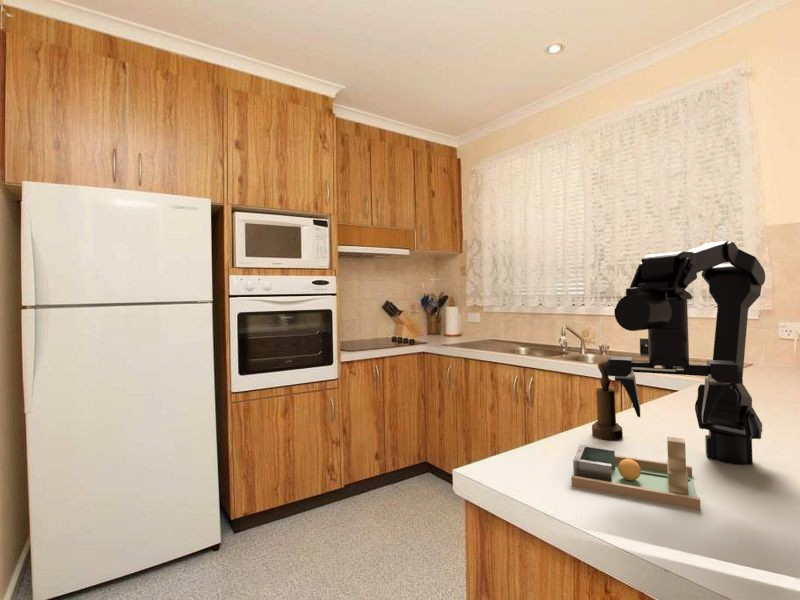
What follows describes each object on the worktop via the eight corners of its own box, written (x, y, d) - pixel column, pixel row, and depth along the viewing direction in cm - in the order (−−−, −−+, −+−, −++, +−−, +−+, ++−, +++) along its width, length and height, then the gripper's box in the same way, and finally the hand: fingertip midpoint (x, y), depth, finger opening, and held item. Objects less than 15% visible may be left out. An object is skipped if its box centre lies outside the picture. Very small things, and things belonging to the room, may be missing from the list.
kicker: (685, 480, 71) (683, 435, 71) (688, 495, 66) (686, 446, 66) (667, 477, 73) (666, 433, 73) (669, 491, 68) (667, 444, 68)
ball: (641, 477, 74) (640, 457, 74) (641, 485, 71) (640, 464, 71) (618, 473, 75) (618, 454, 75) (617, 481, 72) (617, 461, 72)
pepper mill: (586, 432, 102) (584, 358, 102) (611, 431, 102) (609, 357, 102) (602, 441, 95) (599, 362, 95) (629, 439, 96) (626, 361, 96)
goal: (615, 467, 78) (614, 449, 78) (611, 486, 70) (611, 466, 70) (580, 462, 81) (580, 444, 81) (573, 480, 73) (573, 460, 73)
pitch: (691, 480, 74) (691, 466, 74) (700, 516, 62) (700, 499, 62) (582, 462, 83) (582, 450, 83) (571, 491, 71) (571, 477, 71)
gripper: (729, 324, 72) (732, 414, 72) (609, 324, 82) (612, 403, 82) (741, 329, 63) (745, 432, 63) (604, 328, 72) (607, 417, 72)
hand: (670, 419), depth 70 cm, fingers open, 9 cm apart
